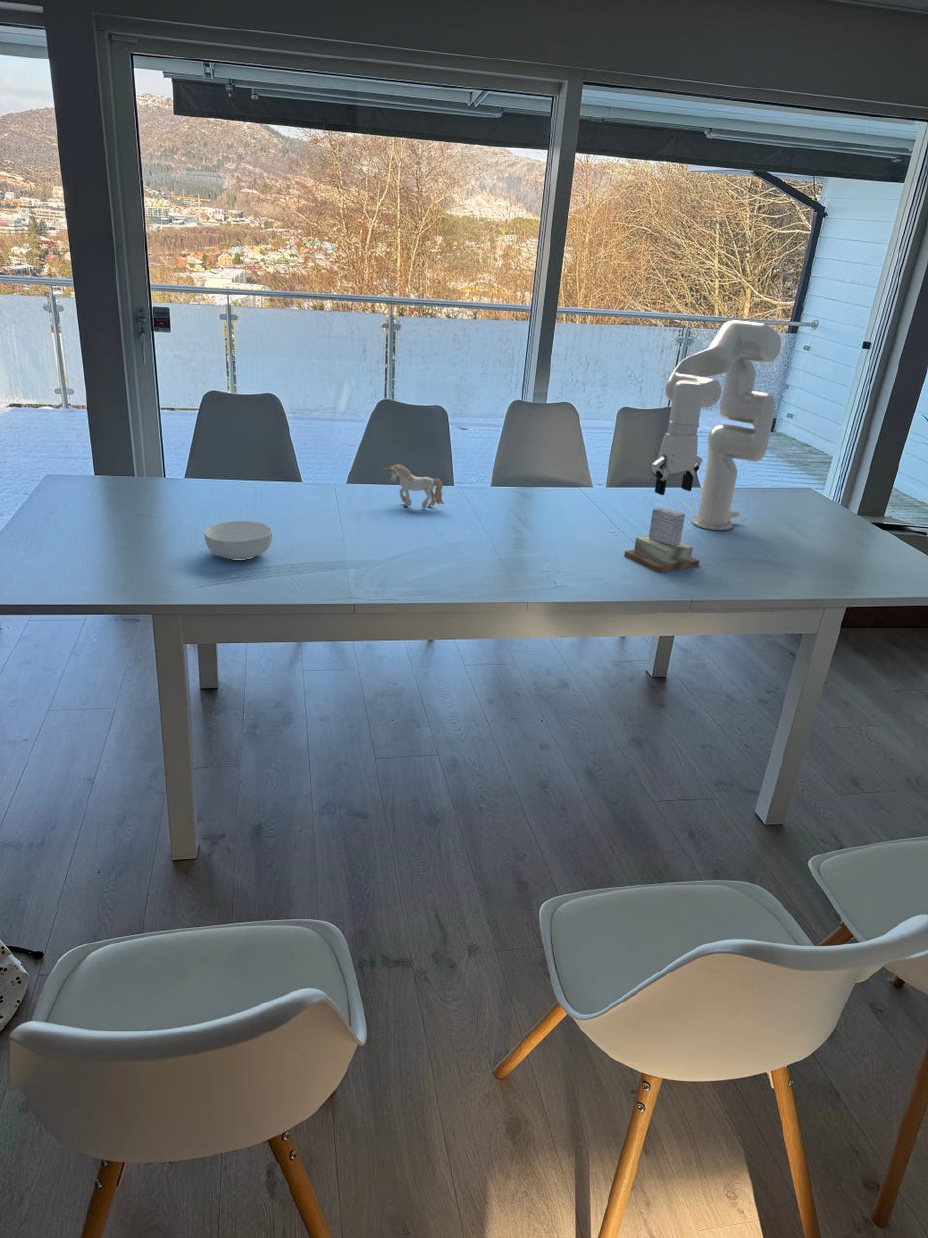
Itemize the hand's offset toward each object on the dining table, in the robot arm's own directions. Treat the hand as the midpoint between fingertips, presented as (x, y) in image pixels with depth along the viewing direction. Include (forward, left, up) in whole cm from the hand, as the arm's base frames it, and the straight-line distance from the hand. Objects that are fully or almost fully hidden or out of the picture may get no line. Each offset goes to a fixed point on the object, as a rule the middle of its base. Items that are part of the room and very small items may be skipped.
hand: (672, 491), depth 240 cm
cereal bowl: (+106, -45, -20) cm, 117 cm away
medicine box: (0, 0, -14) cm, 14 cm away
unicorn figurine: (+44, -66, -20) cm, 82 cm away
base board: (0, 0, -20) cm, 20 cm away
